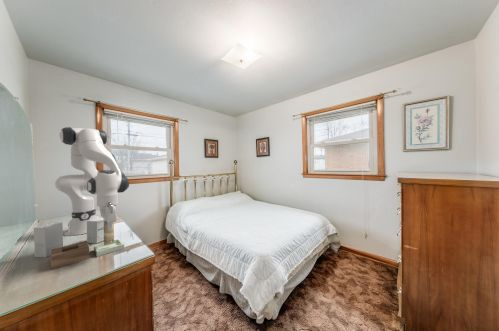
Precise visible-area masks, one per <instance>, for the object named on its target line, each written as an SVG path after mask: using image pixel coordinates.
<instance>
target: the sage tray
mask: <svg viewBox="0 0 499 331" xmlns="http://www.w3.org/2000/svg"><path fill="white" fill-rule="evenodd" d="M121 249H122V250H125V243H124V242H123V241H122V239H120V238H118V239H114V243H113V244H111V245H104V242H102V243H101V242H100V243H96V244H94V245H93V251H94V253H95V255H96V257H97V258H98V257H101V256H105V255H108V254H112V253H116V252H119V251H121Z"/></svg>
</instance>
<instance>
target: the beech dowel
mask: <svg viewBox="0 0 499 331" xmlns="http://www.w3.org/2000/svg"><path fill="white" fill-rule="evenodd" d="M114 223H115V222H113V224H112V229H110V230H108V229H107V222H106V221H104V241H103V243H104V245H111V244H113V243H114V240H115V239H114V238H115V237H114V236H115V235H114V234H115V229H114V226H115V225H114Z"/></svg>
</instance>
